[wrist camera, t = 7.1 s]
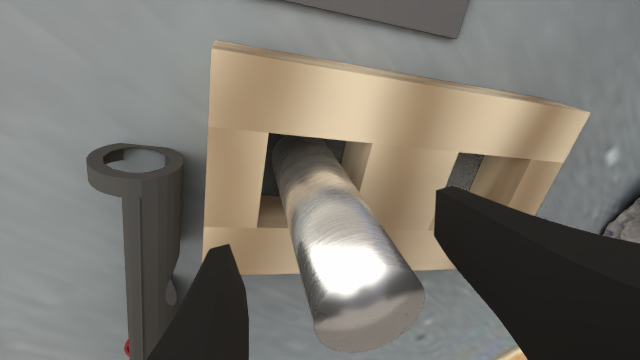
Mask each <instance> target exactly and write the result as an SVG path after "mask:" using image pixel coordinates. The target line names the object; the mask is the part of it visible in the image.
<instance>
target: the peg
mask: <svg viewBox="0 0 640 360" xmlns="http://www.w3.org/2000/svg"><path fill="white" fill-rule="evenodd" d="M272 166H273V169H274V173H275V177H276V181H277V185H278V189H279V193H280V197H281V201H282V205H283V209H284V213H285V217H286V221H287V224H288V228H289V232H290V236H291V240H292V244H293V248H294V252H295V256H296V260H297V264H298V268H299V272H300V275H301V279H302V283H303V287H304V291H305V295H306V299H307V303H308V307H309V311H310V315H311V319H312V323H313V326H314V330H315V334H316V336H317V338H318V339H319V340H320V342H321V343H322V344H324V345H325V346H326V347H328V348H330V349H333V350H335V351H339V352H348V353H354V352H363V351H368V350H372V349H375V348H378V347H380V346H383V345H385V344H387V343H389V342H391V341H392V340H394V339H396V338H397V337H399V336H400V335H401V334H403V333H404V332H405V331H406V330H407V329H408V328H409V327H410V326H411V325H412V324H413V323H414V322H415V320H416V319H417V317H418V316H419V314H420V312H421V310H422V307H423V304H424V299H425V294H424V288H423V286H422V284H421V282H420V281H419V279H418V278H417V276H416V275H415V274H414V272H413V271H412V269H411V268H410V266H409V265H408V263H407V262H406V260H405V259H404V257H403V256H402V254H401V253H400V252H399V250H398V249H397V247H396V246H395V244H394V243H393V241H392V240H391V238H390V237H389V235H388V234H387V232H386V231H385V230H384V228H383V227H382V225H381V224H380V222H379V221H378V219H377V218H376V216H375V215H374V213H373V212H372V211H371V209H370V208H369V206H368V205H367V203H366V202H365V200H364V199H363V197H362V196H361V194H360V193H359V191H358V190H357V189H356V187H355V186H354V184H353V183H352V181H351V180H350V178H349V177H348V175H347V174H346V172H345V171H344V170H343V168H342V167H341V165H340V164H339V162H338V161H337V159H336V158H335V156H334V155H333V153H332V152H331V150H330V149H329V148H328V146H327V145H326V143H325V142H324V140H323V139H322V138H315V137H305V136H295V135H285V136H284V137H282V138H281V139H280V140H279V141H278V143H277V144H276V145H275V147H274V149H273V152H272Z"/></svg>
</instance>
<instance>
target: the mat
mask: <svg viewBox="0 0 640 360" xmlns="http://www.w3.org/2000/svg"><path fill="white" fill-rule="evenodd" d="M285 1H289V2H294V3H298V4H303V5H307V6H312V7H316V8H320V9H325V10H329V11H334V12H338V13H343V14H347V15H352V16H356V17H360V18H365V19H369V20H374V21H378V22H383V23H387V24H392V25H396V26H401V27H405V28H409V29H414V30H418V31H423V32H427V33H432V34H436V35H441V36H445V37H449V38H454V39H457V37H458V34H459V31H460V28H461V25H462V22H463V19H464V16H465V13H466V10H467V7H468V4H469V1H470V0H285Z"/></svg>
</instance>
